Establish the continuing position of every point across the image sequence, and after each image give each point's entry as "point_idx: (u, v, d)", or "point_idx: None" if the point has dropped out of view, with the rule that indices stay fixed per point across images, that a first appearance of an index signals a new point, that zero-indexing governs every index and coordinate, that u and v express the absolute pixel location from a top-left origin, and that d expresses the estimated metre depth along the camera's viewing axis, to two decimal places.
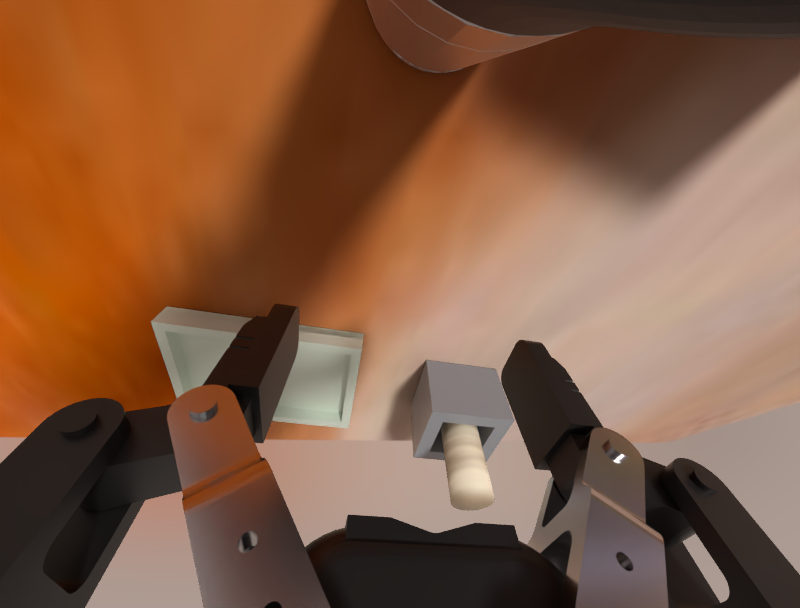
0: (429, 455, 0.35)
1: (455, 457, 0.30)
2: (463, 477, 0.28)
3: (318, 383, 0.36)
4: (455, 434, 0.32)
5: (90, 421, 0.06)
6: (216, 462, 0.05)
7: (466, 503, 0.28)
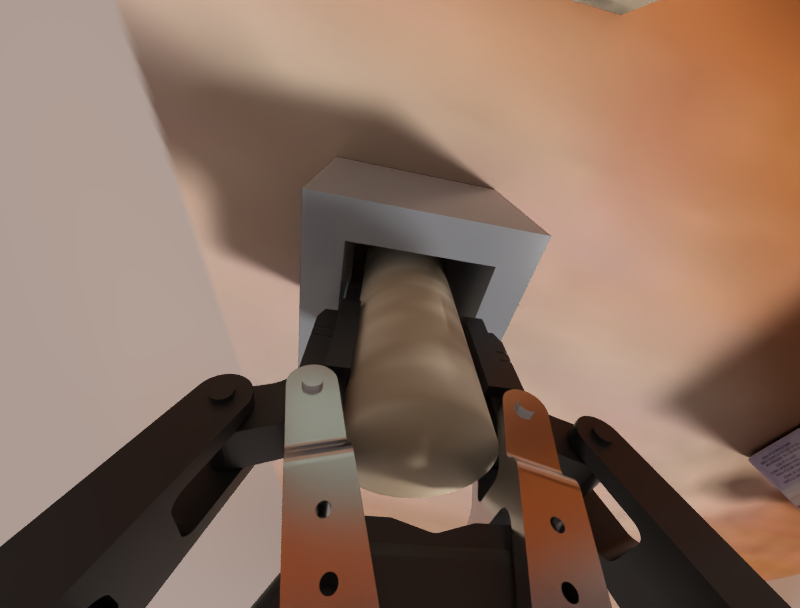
0: (321, 242, 0.11)
1: (461, 335, 0.10)
2: (482, 392, 0.08)
3: None
4: (454, 303, 0.12)
5: (229, 392, 0.07)
6: (313, 432, 0.06)
7: (396, 446, 0.07)
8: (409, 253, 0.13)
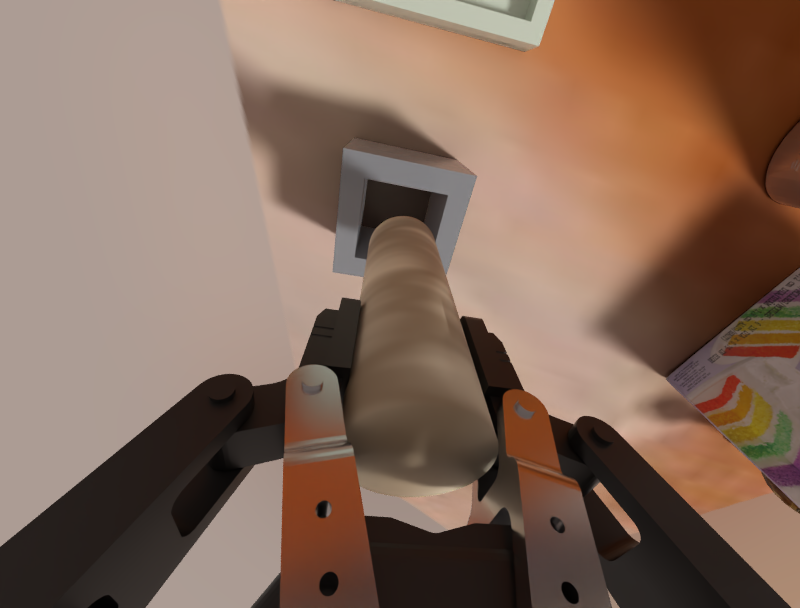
0: (351, 179, 0.20)
1: (461, 334, 0.10)
2: (482, 392, 0.08)
3: None
4: (454, 303, 0.12)
5: (229, 392, 0.07)
6: (313, 431, 0.06)
7: (396, 445, 0.07)
8: (409, 253, 0.13)
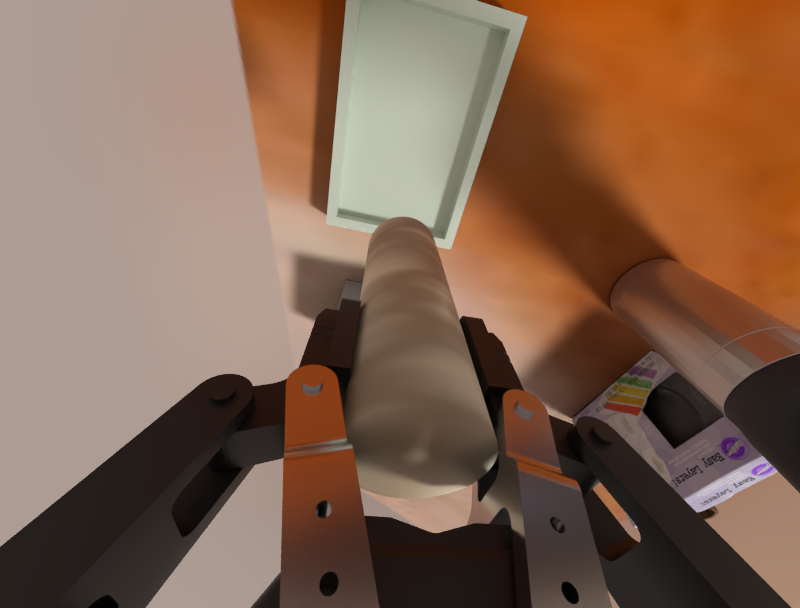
0: None
1: (460, 335, 0.10)
2: (482, 394, 0.08)
3: (390, 192, 0.33)
4: (454, 304, 0.12)
5: (229, 392, 0.07)
6: (313, 432, 0.06)
7: (396, 446, 0.07)
8: (409, 254, 0.13)
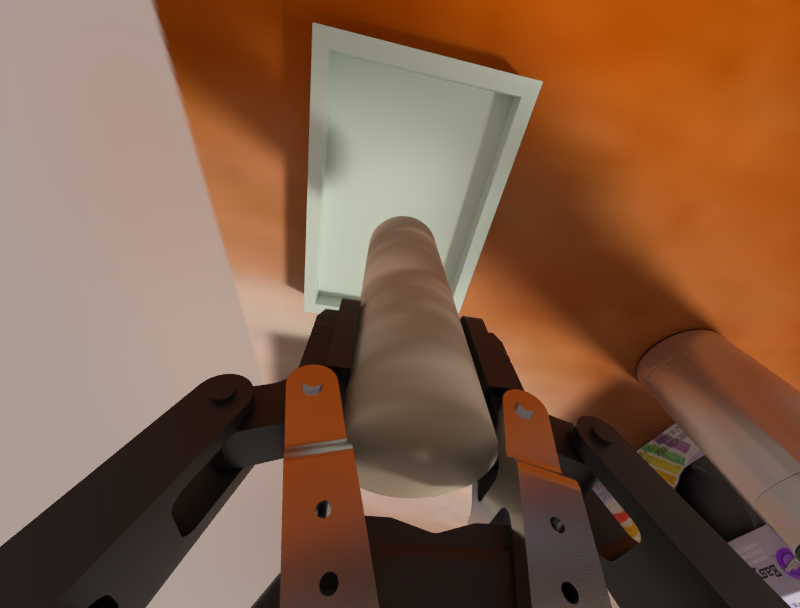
0: None
1: (461, 335, 0.10)
2: (482, 393, 0.08)
3: None
4: (454, 303, 0.12)
5: (229, 392, 0.07)
6: (313, 431, 0.06)
7: (396, 446, 0.07)
8: (409, 253, 0.13)
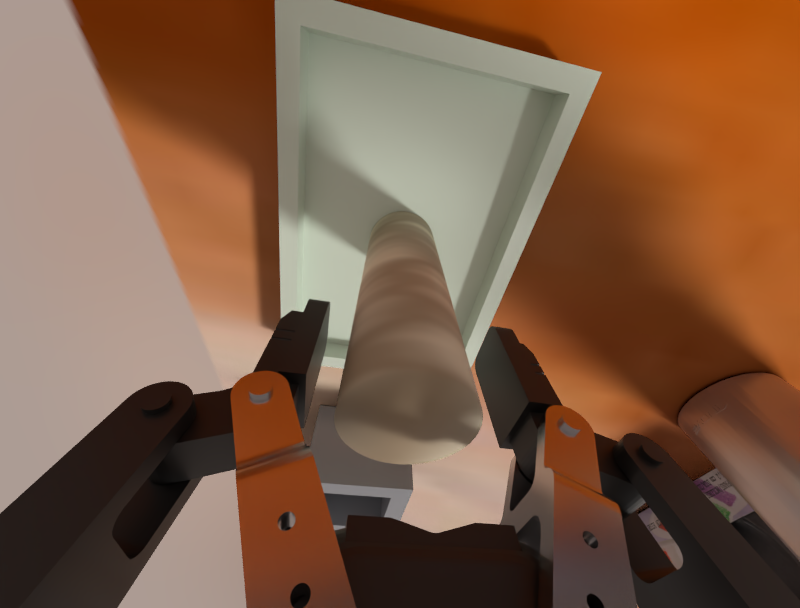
0: None
1: (452, 317, 0.10)
2: (469, 367, 0.09)
3: None
4: (448, 290, 0.13)
5: (165, 401, 0.06)
6: (266, 442, 0.06)
7: (390, 411, 0.08)
8: (407, 244, 0.14)
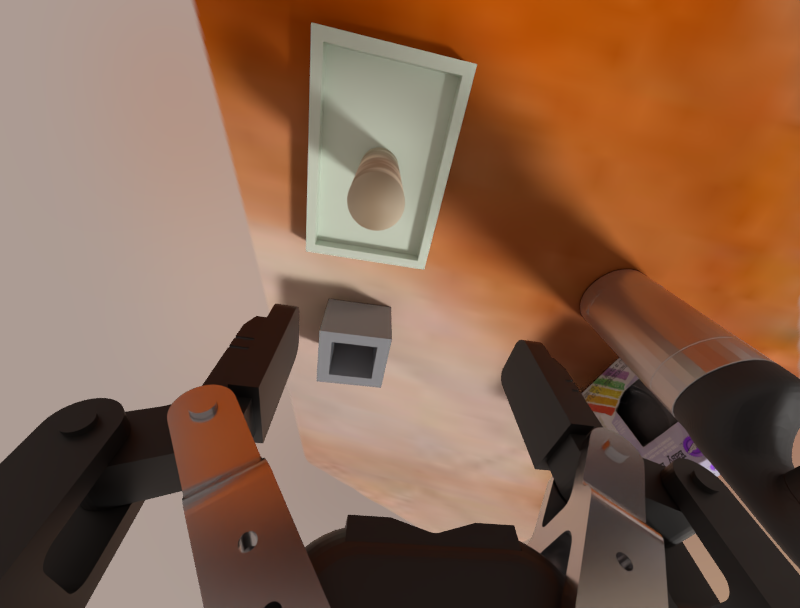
0: (324, 342, 0.37)
1: (397, 174, 0.23)
2: (401, 185, 0.22)
3: None
4: (399, 173, 0.25)
5: (90, 421, 0.06)
6: (216, 462, 0.05)
7: (368, 195, 0.21)
8: (379, 154, 0.27)
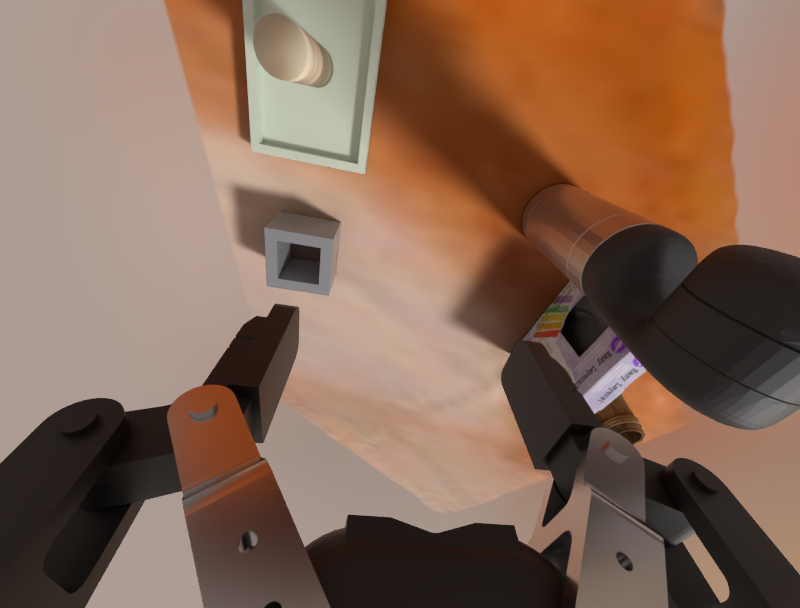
0: (270, 241, 0.39)
1: (307, 35, 0.26)
2: (306, 37, 0.24)
3: (305, 121, 0.37)
4: (316, 45, 0.28)
5: (90, 421, 0.06)
6: (216, 462, 0.05)
7: (272, 39, 0.23)
8: None
